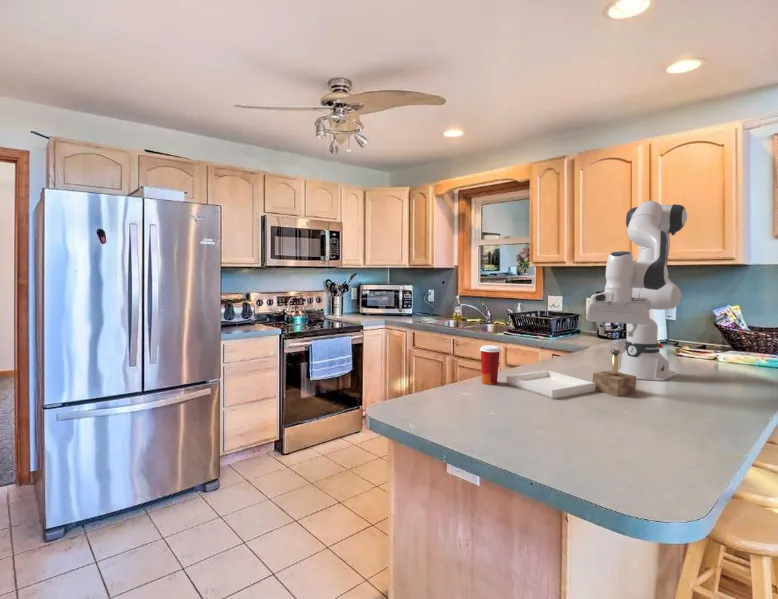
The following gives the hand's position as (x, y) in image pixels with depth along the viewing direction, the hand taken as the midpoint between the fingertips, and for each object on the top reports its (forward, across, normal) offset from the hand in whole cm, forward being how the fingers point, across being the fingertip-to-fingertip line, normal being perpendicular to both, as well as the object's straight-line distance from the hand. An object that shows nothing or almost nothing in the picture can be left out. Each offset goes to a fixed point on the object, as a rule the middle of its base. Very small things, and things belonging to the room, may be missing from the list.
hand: (615, 335), depth 162 cm
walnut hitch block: (+20, 0, -1) cm, 20 cm away
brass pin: (+20, 0, -1) cm, 20 cm away
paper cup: (+21, +43, +6) cm, 48 cm away
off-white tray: (+21, +21, +4) cm, 30 cm away
